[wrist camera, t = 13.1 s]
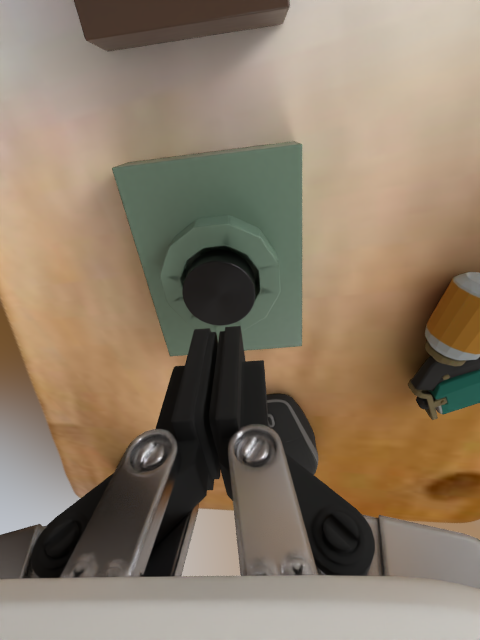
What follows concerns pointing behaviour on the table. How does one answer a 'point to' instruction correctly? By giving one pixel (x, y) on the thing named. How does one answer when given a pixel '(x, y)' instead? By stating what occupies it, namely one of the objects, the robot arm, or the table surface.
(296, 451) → the computer mouse
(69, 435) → the table surface
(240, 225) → the green push button panel
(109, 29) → the dial panel
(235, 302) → the button
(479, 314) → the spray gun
